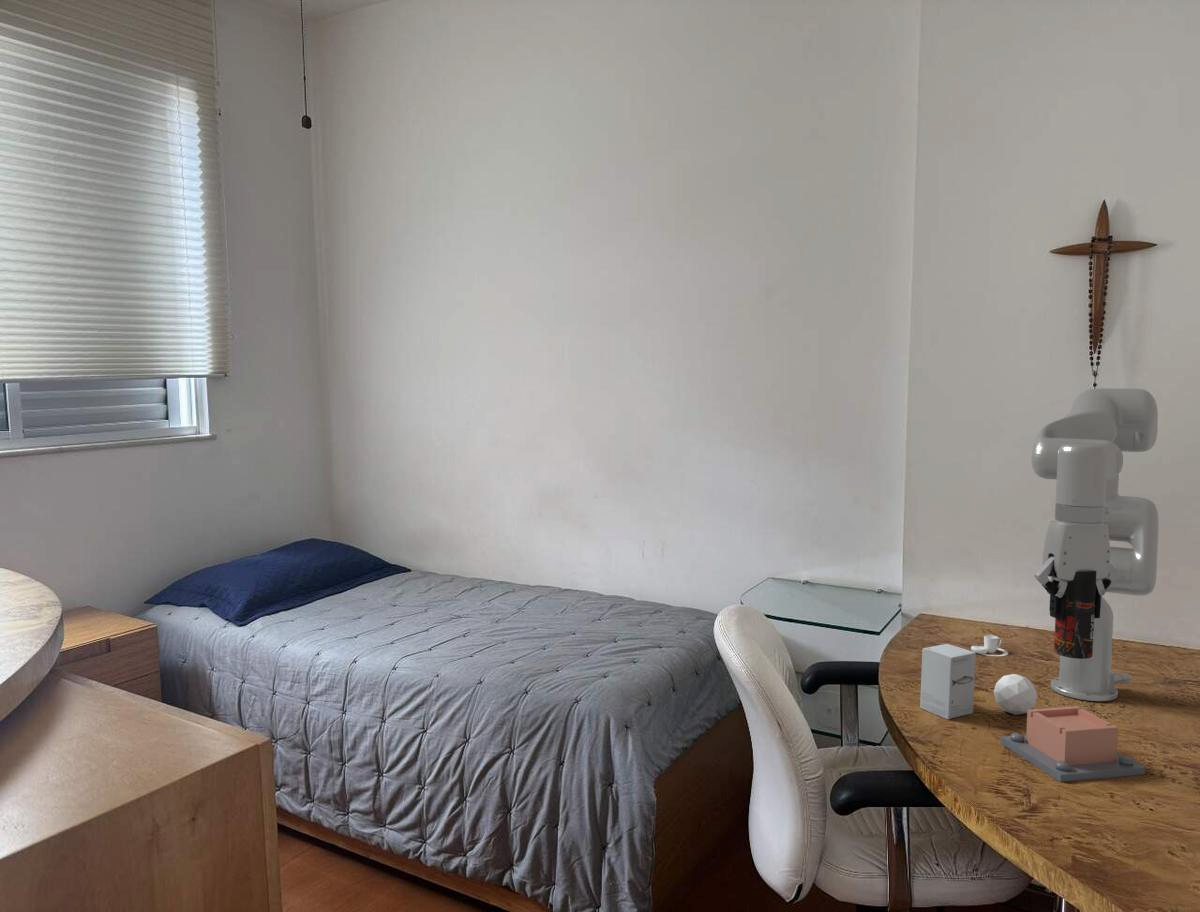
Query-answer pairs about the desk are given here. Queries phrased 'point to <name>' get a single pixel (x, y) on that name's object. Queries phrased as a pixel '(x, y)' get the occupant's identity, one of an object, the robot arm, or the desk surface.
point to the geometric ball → (1015, 694)
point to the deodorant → (1077, 618)
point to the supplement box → (947, 681)
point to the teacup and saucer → (989, 646)
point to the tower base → (1067, 768)
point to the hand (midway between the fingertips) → (1074, 616)
